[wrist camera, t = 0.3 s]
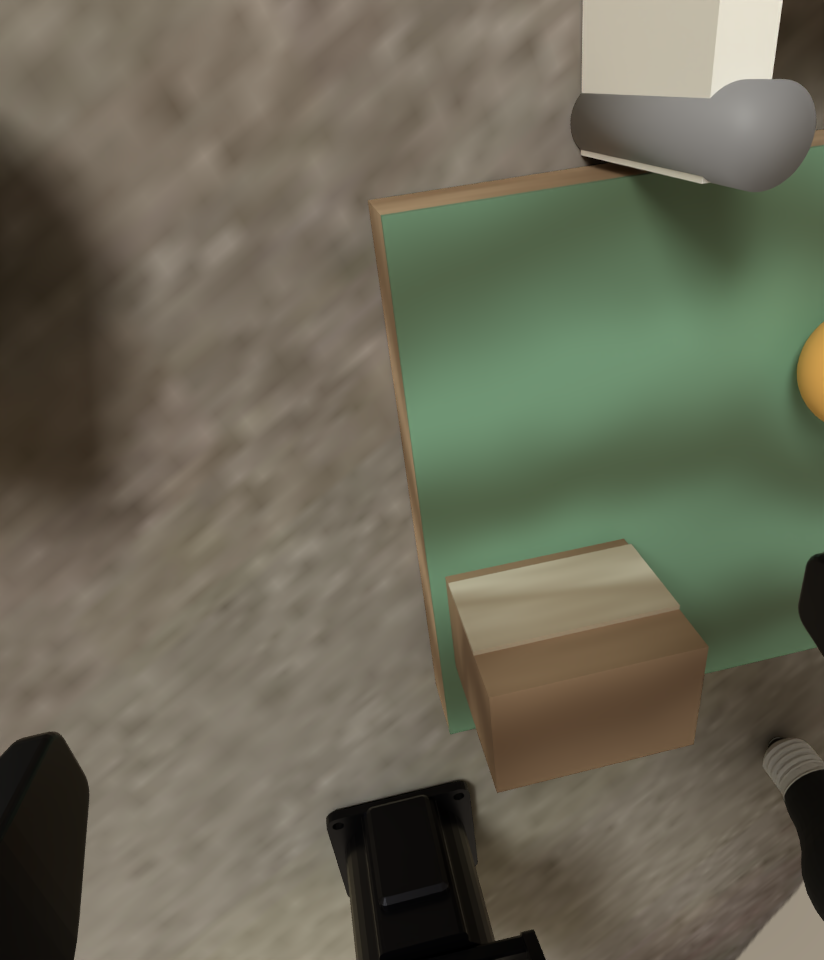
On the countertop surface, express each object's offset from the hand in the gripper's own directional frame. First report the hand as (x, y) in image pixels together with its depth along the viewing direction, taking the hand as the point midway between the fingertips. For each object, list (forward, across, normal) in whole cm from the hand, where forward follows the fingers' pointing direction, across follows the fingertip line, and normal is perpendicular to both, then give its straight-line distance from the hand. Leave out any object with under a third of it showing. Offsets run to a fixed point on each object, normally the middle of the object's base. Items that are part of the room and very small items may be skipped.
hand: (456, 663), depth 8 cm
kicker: (+11, -5, +10) cm, 16 cm away
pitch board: (+14, -12, +6) cm, 19 cm away
